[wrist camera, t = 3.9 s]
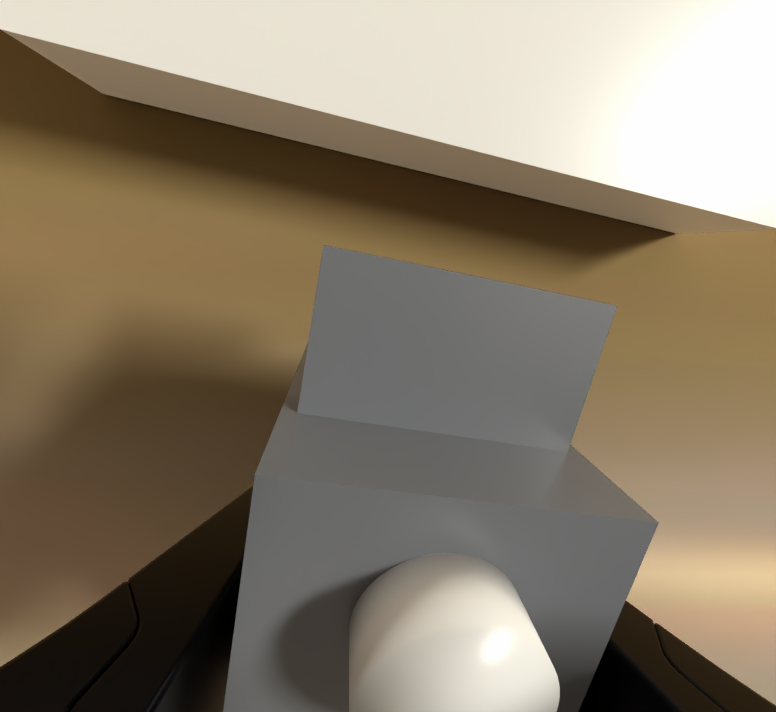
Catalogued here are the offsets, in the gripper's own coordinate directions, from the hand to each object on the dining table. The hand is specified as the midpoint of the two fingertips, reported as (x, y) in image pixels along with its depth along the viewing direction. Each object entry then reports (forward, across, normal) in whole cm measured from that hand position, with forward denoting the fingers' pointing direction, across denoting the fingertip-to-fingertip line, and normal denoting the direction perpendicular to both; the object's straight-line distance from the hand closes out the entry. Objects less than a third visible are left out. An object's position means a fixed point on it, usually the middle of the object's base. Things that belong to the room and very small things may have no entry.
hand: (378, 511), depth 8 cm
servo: (+1, 0, 0) cm, 1 cm away
